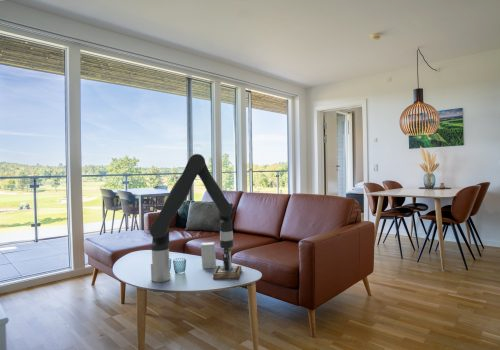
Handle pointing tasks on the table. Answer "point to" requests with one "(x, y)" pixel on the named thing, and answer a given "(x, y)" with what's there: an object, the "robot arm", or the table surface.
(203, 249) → the skincare box
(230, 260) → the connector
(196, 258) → the table surface
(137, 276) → the table surface
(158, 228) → the robot arm
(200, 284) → the table surface
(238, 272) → the walnut box
